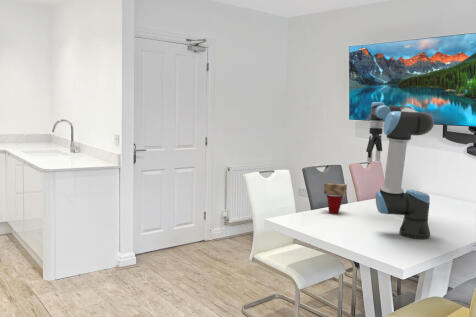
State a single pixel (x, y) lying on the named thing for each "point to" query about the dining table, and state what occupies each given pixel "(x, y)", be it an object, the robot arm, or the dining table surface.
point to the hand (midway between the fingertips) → (373, 162)
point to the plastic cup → (334, 203)
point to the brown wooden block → (335, 189)
